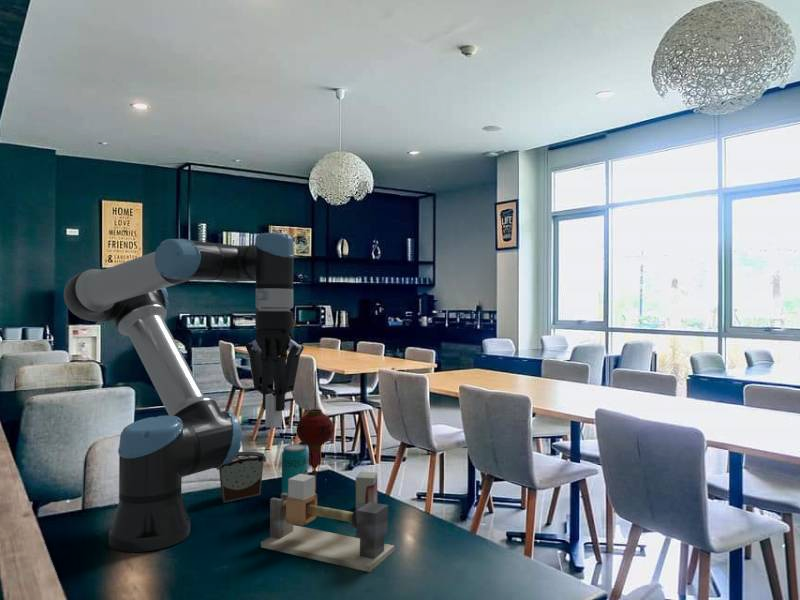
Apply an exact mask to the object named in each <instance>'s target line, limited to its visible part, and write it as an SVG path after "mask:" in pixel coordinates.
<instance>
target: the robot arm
mask: <svg viewBox="0 0 800 600" xmlns="http://www.w3.org/2000/svg"><path fill="white" fill-rule="evenodd" d="M294 251H295V250H294V239H293V237H292V236H291V235H290V234H286V233H281V232H264V233H262V232H261V233H258V234H257V235H256V237H255V243H254V244H252V245H248V244H247V245H238V244H237V245H235V244H225V243H218V242H217V243H216V242H208V241H200V240H199V241H198V240H190V239H187V238H167V239H164V240H163V241H161V242H160V245H159V246H157V248H156V250H155V251H153V252H150V253H148V254H144V255H142V256H139V257H138V256H137V257H135V258H133V259H130V260H128V261H125V262H122V263H118V264H116V265H113V266H110V267H107V268H105V269H99V268H90V269H87V270H85V271H81V272H79V273H77V274H74V275H73V276H72V277H71V278H70V279H69V280H68V281H67V282H66V284H65V286H64V289H63V299H64V303H65V305H66V307H67V309H68V311H70V312H71V313H72V314H73V315H75V316H76V317H78V318H80V319H81V320H85V321H89V322H113V323H114V324H115V326H116V328H117V330H118V332H119V333H120V335H123V336H125V337H129V339H130V341H131V343H132V345H133V346H134V348H135V350H136V353H137V355H138V357H139V358H140V360H141V361H140V362H141V363H142V365H143V366H144V368H145V370H146V373H147V374H148V377H149V378H150V381H151V382H152V385H153V386H154V388H155V390H156V392H157V394H158V396H159V398H160V400H161V402H162V404H163V406H164V408H165V410H166V412H167V414H168V415H158V416H152V417H145V418H141V419H139V420H136V421H134V422H131V423H129V424H128V425H127V426H125V427H124V428H123V429H122V431H121V432H120V435H119V443H118V445H119V446H118V449H117V450H118V451H117V452H118V457H119V458H118V459H119V461H118V464H119V465H118V466H119V468H118V471H119V473H118V474H119V475H118V482H119V483H118V493H119V494H118V505H117V508H116V510H115V514H114V518H113V522H112V525H111V526H110V528H109V531H108V545H109V547H110V548H112V549H114V550H117V551H118V552H119V551H120V552H129V553H130V552H131V553H139V552H140V553H142V552H150V551H151V552H152V551H158V550H163V549H166V548H169V547H171V546H174V545H177V544H179V543H181V542H182V541H183V542H184V540H186V539H187V538H188V537H189V536H190V534H191V520H190V519H191V518H190V517H189V516H188V512H187V507H186V506H185V505H186V504H185V502H184V499H183V496H182V478H183V477H186V476H191V475H195V474H198V473H201V472H205V471H207V470H212V469H216V468H218V467H220V466H221V465H224V464H226V463H229V462H231V461H232V460H233V459H234V458H235V457H236V456H237V454H238V452H240V450H241V447H242V440H243V429H242V425H241V422H240V420H239V418H238V416H236V414H234V413H233V412H230V411H227V410H224V411H222V410H221V409H220V407H219V406H218V404H217V402H216V400H215V399H214V398H212V397H211V398H210V397H206V396H205V394H204V392H203V390H202V388H201V387H200V385H199V383H198V381H197V379H196V378H195V376H194V375H195V374H193V372H192V370H191V369H190V366H189V365H188V362H187V360H186V359H185V357H184V355H183V353H182V351H181V350H180V348H179V345H178V344H177V342H176V340H175V338H174V336H173V334H172V333H171V331H170V329H169V327H168V326H167V323H166V318H167V314H168V313H167V311H168V308H169V304H170V301H169V300H168V298H169V294H168V290H167V288H168V287H172V286H175V285H179V284H182V283H186V282H189V281H195V280H196V281H198V280H199V281H200V280H201V281H220V282H226V283H238V282H255V308H256V309H258V310H257V311H255V314H254V315H255V317H254V319H255V321H254V326H255V327H254V328H255V329H256V330H257V331H256V334H255V338H254V339H253V340H252V341H251V342H248V343H246V344H245V349H246V350H247V353H248V357H249V363H250V368H251V370H250V371H251V375H252V380H253V382H252V383H253V387H254V390H255V391H259V392H260V393H261V394H262V409H263V410H265V413H264V414H265V415H264V416H265V417H264V418H265V422H264V425H265V426H264V427H265V428H271V429H275V428H279V427H283V411H285V408H286V394H287V393H290V392H292V391H294V390H295V389H294V388H295V385H296V384H295V383H296V377H297V373H298V368H299V361H300V356H301V354H302V353H303V351H304V348H305V347H304V345H303V344H298V343H297V342H296V341H295V340H294V335H293V333H292V332H293V331H292V330H293V328H294V312H293V311H291V309H293V308H294V264H295V263H294V262H295V252H294Z"/></svg>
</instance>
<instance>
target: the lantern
mask: <svg viewBox="0 0 800 600" xmlns="http://www.w3.org/2000/svg"><path fill="white" fill-rule="evenodd" d="M316 379H317V371H316V370H315V371H314V408H313V409H308V412H307V413H306V414H305V415H304V416H301V417H300V419H299V421H298V422H297V426H296V435H297V438H298V439H299V440H300V441H301V442H302V443H303V444H304V445H305V444H306V447H308V448H307V449H308V466H311V468H312V469H313V470H312V474H311V475H312V476H315V490H317V489H318V471H317V470H316V468H318V467H319V466H321V464H322V446H323V445H324V444H325V443H328V442H329V440H330V439H331V438H332V436H333V432H334V425H333V422H332V420H331V418H329V416H328V415H326V414H324V413H323V411H322V409H320V408H319V409H317V405H316V402H317V399H316V398H317V385H316V384H317V380H316Z"/></svg>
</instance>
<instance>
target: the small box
mask: <svg viewBox="0 0 800 600" xmlns="http://www.w3.org/2000/svg"><path fill="white" fill-rule="evenodd" d="M369 502H373V503H378V472H373V471H359V473H358V474H357V476H355V509H359V508H361V507H362V506H364V505H365V504H367V503H369Z"/></svg>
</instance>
